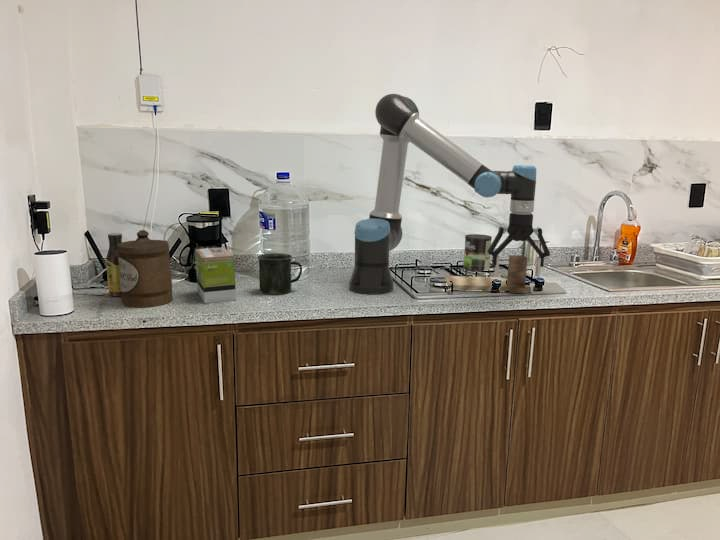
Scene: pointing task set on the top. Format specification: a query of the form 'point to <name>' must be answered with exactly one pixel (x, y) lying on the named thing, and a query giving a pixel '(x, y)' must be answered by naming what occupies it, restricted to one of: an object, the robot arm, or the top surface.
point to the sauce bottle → (113, 264)
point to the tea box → (215, 274)
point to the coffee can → (477, 252)
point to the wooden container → (145, 272)
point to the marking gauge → (517, 273)
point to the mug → (276, 273)
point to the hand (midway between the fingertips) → (516, 275)
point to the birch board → (478, 283)
